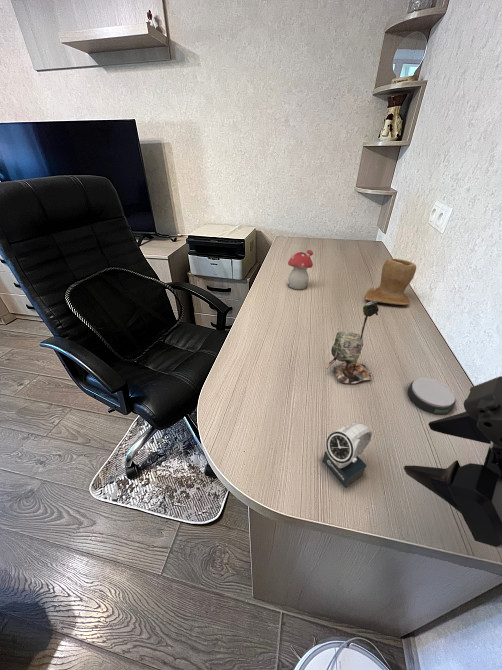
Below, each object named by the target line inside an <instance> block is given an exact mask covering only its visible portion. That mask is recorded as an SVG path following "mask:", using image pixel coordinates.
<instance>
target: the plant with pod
mask: <svg viewBox="0 0 502 670" xmlns="http://www.w3.org/2000/svg"><path fill="white" fill-rule="evenodd" d="M362 313H363V315H364V316H365V317H364V320H363V324H362V327H361V328H362V329H361V333H356V332H352V331H347V330H342V331H338V330H340V328H337V333H336V335H335V339H334V343H333V345H332V346H331V349H330V351H331V352H330V353H331V356H332V357H333V359H332V360H330V362H329V363H328V365H326V368H325V370H329V368H330V367H331V366H332V365H333V364H334V363H335V362H336V361H338V362H341V364H336V365H334V366H333V372H334V375H335V377H336V379H337V381H338V382H340V383H342V384H357V383H360V382H364V381H370V380H371V379H372V375H371V374H372V372H369V369H368V368H367V365H365V364H363V363H358V360H359V358H360V355H362V350H363V347H364V338H363V335H364V330H365V328H366V324H367V320H368V317H369V318H370V317H372V316H374V315H375V316H379V306H378V302H376V301H375V300H373V301H368V302H366V303H364V305H363V306H362Z"/></svg>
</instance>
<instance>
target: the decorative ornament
mask: <svg viewBox="0 0 502 670" xmlns="http://www.w3.org/2000/svg"><path fill="white" fill-rule="evenodd" d="M313 255H314V251H313V250H312V249H308V250H306V252H302V251H300V252H296V253H294V254H293V255H292V256H291V257H290V258H289V260H288V262H287V265H288V266H290V267H292V268H293V269H292V270H291V271H290V273H289V274H288V287H289V288H291V289H293V290H305V289H306V287H307V285H308V283H309V280H310V279H309V278H310V276H309V273H308V271H307V270H308V269H312V268H313V266H314V263H313V260H312V258H311V256H313Z"/></svg>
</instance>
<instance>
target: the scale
mask: <svg viewBox="0 0 502 670" xmlns="http://www.w3.org/2000/svg"><path fill="white" fill-rule="evenodd" d="M407 397H408V399H409V400H410V402H411V403H412V404H413V405H415V406H416V407H417V408H418V409H420V410H422V411H423V412H426V413H428V414H433V415H441V416H442V415H447V414H449V413H450V412H451V411H452V409H454V406H455V405H456V403H457V400H456V395H455V392H453V390H452V389H451V388H450V387H449V386H448V385H446V383H445V384H444V383H443V382H441V381H439V380H437V379H434V378H430V377H419V378H416V379H414V380H412V382H410V385H409V387H408V389H407Z"/></svg>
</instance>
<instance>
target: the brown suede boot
mask: <svg viewBox="0 0 502 670" xmlns="http://www.w3.org/2000/svg"><path fill="white" fill-rule="evenodd" d="M416 271H417V265H416V264H415V263H414V262H412V261H408V260H407V259H403V258H402V259H401V258H394V257H393V258H392V257H391V258H390V257H389V258H387V259H386V260H385V262H384V264H383V265H382V268H381V276H380V284H379V286H378V287H376V288H368V289H367V291H366V293H365V298H364V300H365V301H368V302H371V301H373V300H375V301H376V302H377V303H381V304H388V305H397V306H398V305H399V306H407V305H409V304H410V299H409V297H408V296H407V295H406V294H405V291H406V289H407V287H408V286H409V285H410V284H411V282H412V281H413V279H414V277H415V274H416Z"/></svg>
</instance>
